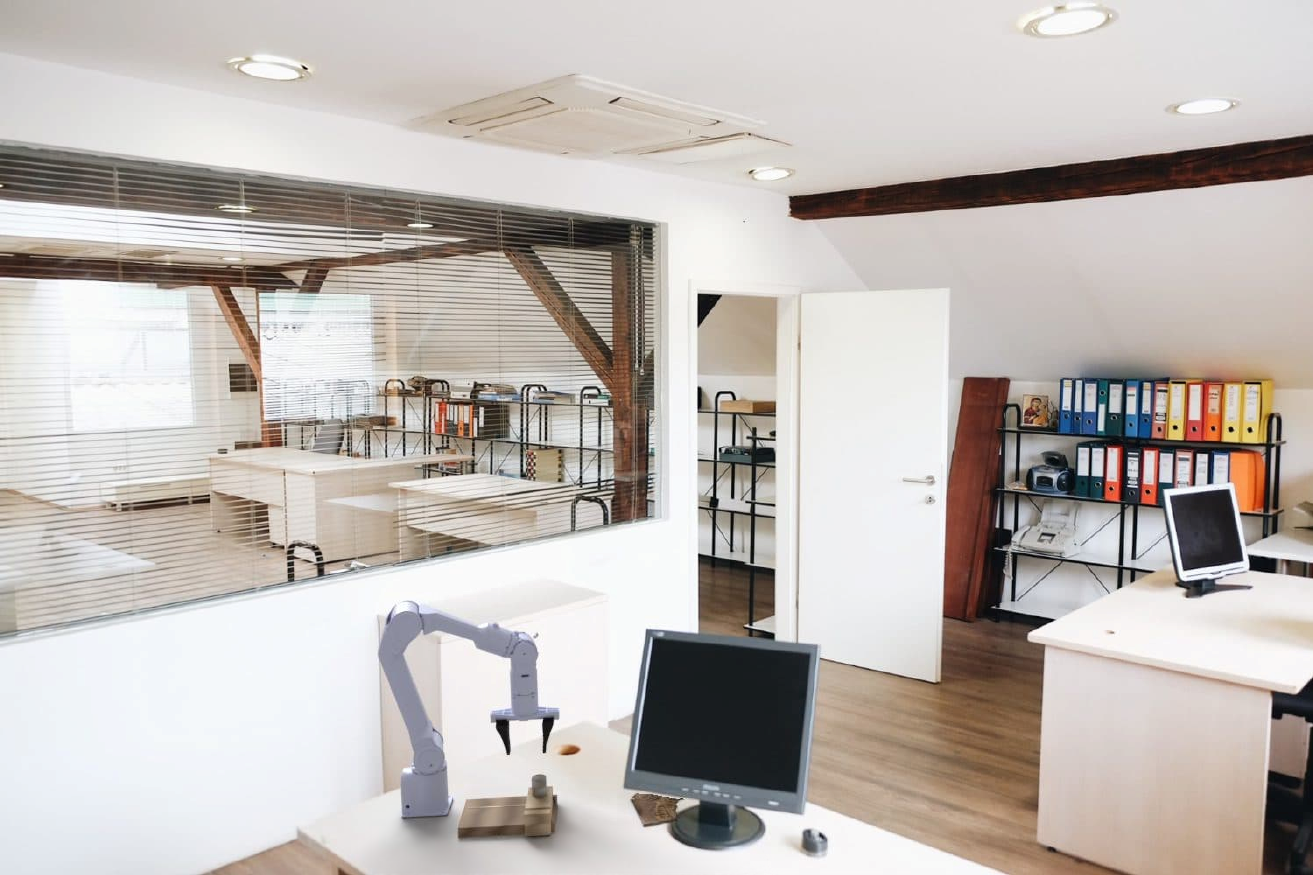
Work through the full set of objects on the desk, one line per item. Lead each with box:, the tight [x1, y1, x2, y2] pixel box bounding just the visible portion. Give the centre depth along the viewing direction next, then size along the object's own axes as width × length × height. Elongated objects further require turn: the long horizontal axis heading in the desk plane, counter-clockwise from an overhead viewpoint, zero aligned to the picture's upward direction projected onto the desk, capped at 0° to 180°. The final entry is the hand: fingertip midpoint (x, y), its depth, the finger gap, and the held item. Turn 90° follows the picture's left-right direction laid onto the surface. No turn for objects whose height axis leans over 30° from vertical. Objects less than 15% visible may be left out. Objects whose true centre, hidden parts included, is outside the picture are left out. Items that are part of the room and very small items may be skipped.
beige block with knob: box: [524, 773, 556, 837], centre depth 192 cm, size 6×12×8 cm, turn 3°
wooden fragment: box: [630, 792, 681, 828], centre depth 203 cm, size 26×11×1 cm, turn 168°
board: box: [457, 794, 558, 839], centre depth 194 cm, size 19×12×2 cm, turn 93°
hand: (526, 752), depth 204 cm, fingers open, 7 cm apart
